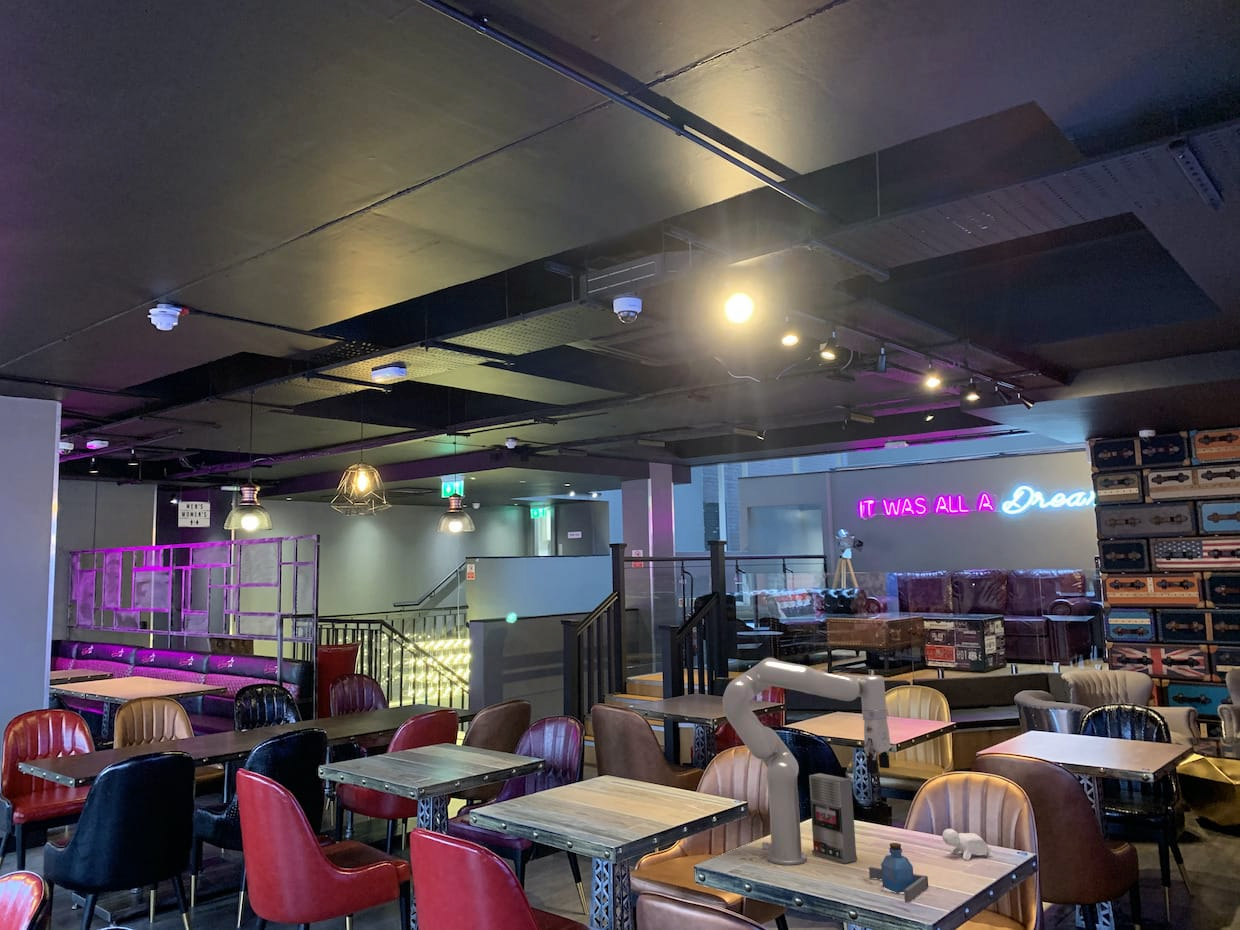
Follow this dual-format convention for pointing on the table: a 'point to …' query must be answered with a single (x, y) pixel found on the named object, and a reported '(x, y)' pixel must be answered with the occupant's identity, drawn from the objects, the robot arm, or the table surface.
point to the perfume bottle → (896, 870)
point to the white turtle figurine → (965, 843)
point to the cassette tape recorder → (832, 818)
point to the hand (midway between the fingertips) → (878, 770)
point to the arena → (910, 891)
